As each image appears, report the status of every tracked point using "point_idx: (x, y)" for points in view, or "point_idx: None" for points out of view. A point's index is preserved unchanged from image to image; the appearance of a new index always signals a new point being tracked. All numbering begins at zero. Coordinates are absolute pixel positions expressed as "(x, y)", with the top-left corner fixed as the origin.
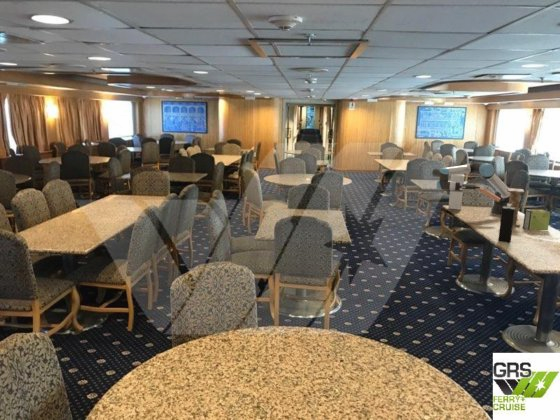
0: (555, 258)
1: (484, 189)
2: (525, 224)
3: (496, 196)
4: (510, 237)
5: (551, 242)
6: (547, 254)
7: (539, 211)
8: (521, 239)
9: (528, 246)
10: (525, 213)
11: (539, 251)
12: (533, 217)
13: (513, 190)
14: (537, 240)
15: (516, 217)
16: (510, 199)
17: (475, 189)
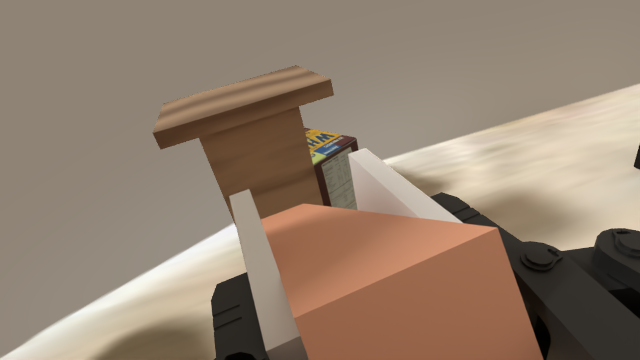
0: (632, 86)
1: (339, 215)
2: None
3: (298, 209)
4: None
5: (478, 137)
6: (625, 97)
7: (317, 136)
8: (561, 165)
9: (620, 129)
10: (322, 179)
11: (627, 107)
12: None
13: (290, 81)
14: (503, 151)
15: None
16: (310, 155)
17: None
